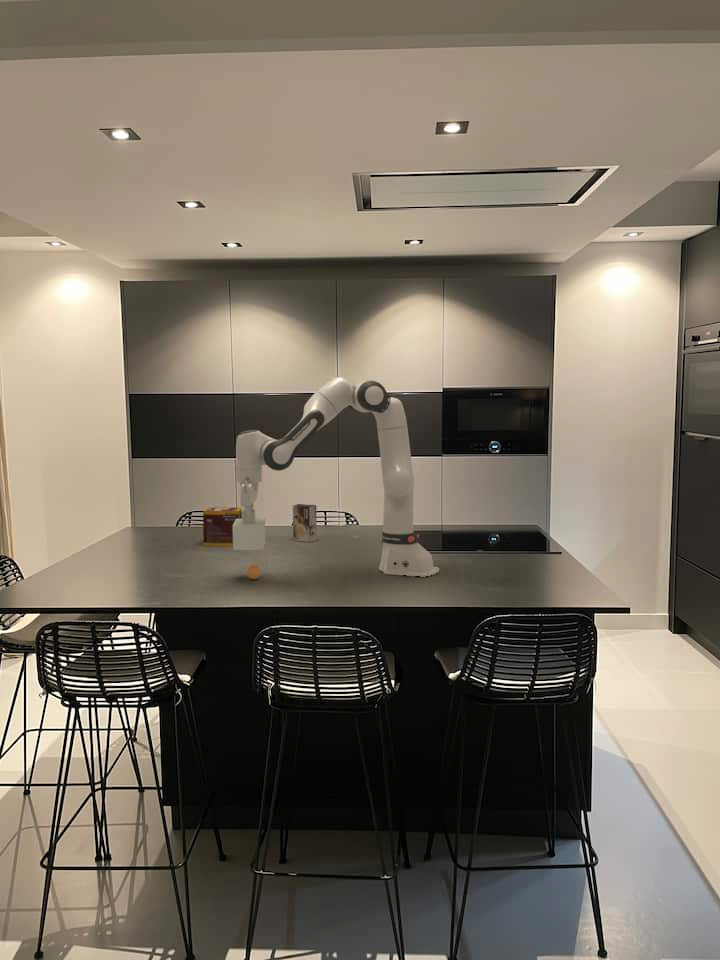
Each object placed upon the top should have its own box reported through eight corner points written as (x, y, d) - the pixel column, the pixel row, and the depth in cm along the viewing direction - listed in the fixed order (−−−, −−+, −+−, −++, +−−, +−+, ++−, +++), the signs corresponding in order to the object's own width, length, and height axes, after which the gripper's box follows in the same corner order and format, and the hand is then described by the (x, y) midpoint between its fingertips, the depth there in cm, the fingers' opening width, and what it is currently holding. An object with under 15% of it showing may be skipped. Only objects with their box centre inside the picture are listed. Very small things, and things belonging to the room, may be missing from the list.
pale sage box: (265, 542, 268) (264, 507, 265) (262, 549, 258) (261, 513, 255) (237, 542, 267) (235, 507, 265) (233, 550, 257) (232, 514, 255)
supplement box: (238, 546, 319) (238, 510, 318) (203, 546, 320) (202, 510, 318) (243, 542, 330) (242, 507, 328) (208, 541, 330) (207, 507, 328)
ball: (264, 578, 260) (263, 566, 263) (255, 573, 257) (254, 560, 260) (253, 583, 262) (252, 571, 265) (243, 578, 258) (243, 566, 262)
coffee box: (317, 540, 334) (317, 504, 332) (309, 542, 329) (309, 506, 327) (300, 538, 338) (299, 503, 337) (292, 540, 333) (292, 505, 331)
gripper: (254, 479, 249) (255, 520, 250) (260, 473, 269) (260, 511, 271) (235, 479, 249) (236, 520, 250) (243, 473, 269) (243, 511, 270)
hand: (249, 515), depth 260 cm, fingers closed on pale sage box, 4 cm apart
